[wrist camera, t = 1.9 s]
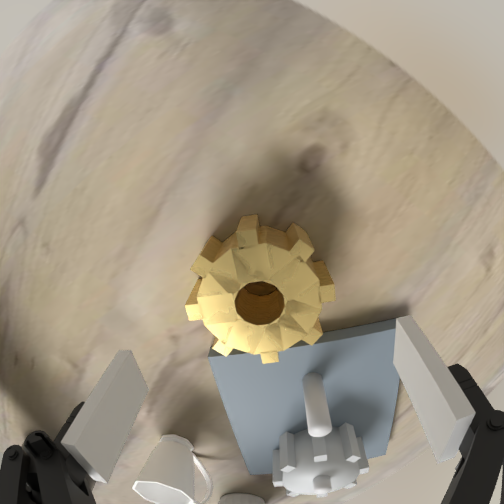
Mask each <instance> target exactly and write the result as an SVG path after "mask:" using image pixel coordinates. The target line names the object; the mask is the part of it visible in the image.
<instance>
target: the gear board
mask: <svg viewBox="0 0 504 504" xmlns="http://www.w3.org/2000/svg"><path fill="white" fill-rule="evenodd" d="M395 333H396V318H395V319H391V320H386V321H381V322H377V323H372V324H367V325H362V326H357V327H351V328H346V329H341V330H335V331H329V332H323V335H322V336H321V337H320V338H319V339H318V340H317V341H316V342H315V343H314V344H313V345H312V346H311V345H310V344H308V343H306V342H305V341H303V340H300V341H298V342H297V343H295V344H294V345H292V346H291V347H289V348H288V349H286V350H284V351H279V362H274V363H266V364H263V363H262V359H261V354H255V355H254V354H250V353H247V352H244V351H241V350H238V349H235V348H233V350H232V351H231V352H230V353H229V354H228V355H227V356H224V355H223V354H221V353H219V352H217V351H216V350H214V349H212V347H210V351H209V355H208V359H209V362H210V365H211V368H212V372H213V375H214V378H215V381H216V384H217V387H218V390H219V392H220V395H221V398H222V401H223V404H224V407H225V410H226V413H227V415H228V418H229V421H230V424H231V426H232V429H233V432H234V435H235V437H236V440H237V443H238V445H239V448H240V450H241V453H242V456H243V458H244V461H245V463H246V466H247V468H248V471H249V473H250V475H257V474H273V485H274V487H278V486H284V487H285V488H286V495H288V496H292V497H296V496H298V495H300V494H305V495H316V494H317V498H318V497H325V496H327V493H329V492H333V491H336V490H339V489H341V488H348V489H350V488H352V487H353V486H355V485H357V482H356V478H357V477H358V475H359V474H364V473H368V470H369V465H368V461H367V459H370V458H374V457H378V456H382V455H386V450H387V446H388V442H389V437H390V432H391V427H392V422H393V417H394V411H395V406H396V400H397V394H398V387H399V380H400V376H399V374H398V372H397V370H396V368H395V366H394V364H393V358H394V346H395Z"/></svg>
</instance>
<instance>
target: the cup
mask: <svg viewBox="0 0 504 504" xmlns="http://www.w3.org/2000/svg"><path fill="white" fill-rule="evenodd" d="M193 449H194V447H193V445H192V444H191V443H190V442H189V440H188V439H186V438H183V437H180V436H178V435H175V434H171V435H162V437H161V439H160V441H159V443H158V445H157V446H156V447H155V449H154V450H153V451H152V453H151V455H150V456H149V458H148V460H147V462H146V464H145V466H144V467H143V469H142V471H141V472H140V474H139V476H138V478H137V480H136V482H135V483H134V485H133V487H132V489H133V490H135V491H136V492H137V493H138V494H139V495H141V496H142V497H143V498H144V499H146V500H148V501H151V502H154V503H156V504H205V503H206V502H208V501H209V499H210V497H211V495H212V491H213V483H212V479H211V477H210V475H209V473H208V472H207V470H206V468H205V467H204V465H203V464H202V462H201V461H200V460H199V459H198V457H197V456H196V455H195V454H194V453H192V450H193ZM194 462H195V463H196V465H197V466H198V468H199V470H200V471H201V473H202V474H203V476H204V478H205V480H206V482H207V492H206V495H205V497H204V499H203V500H202V501H201V502H197V501H196V500H194V473H195V467H194Z"/></svg>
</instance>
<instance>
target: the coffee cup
mask: <svg viewBox="0 0 504 504" xmlns="http://www.w3.org/2000/svg"><path fill="white" fill-rule="evenodd" d="M218 504H265V501H264V500H263V499H262V498H261V497H258V496H256V495H252V494H245V493H232V494H227V495H224V496H222V497H221V498H220V501H219V502H218Z"/></svg>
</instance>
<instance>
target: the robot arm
mask: <svg viewBox="0 0 504 504" xmlns="http://www.w3.org/2000/svg"><path fill="white" fill-rule="evenodd" d="M393 364H394V366H395V368H396V370H397V372H398V374H399V376H400V378H401V381H402V383H403V385H404V387H405V389H406V391H407V393H408V396H409V398H410V400H411V402H412V404H413V407H414V409H415V411H416V413H417V416H418V418H419V420H420V423H421V425H422V427H423V429H424V432H425V434H426V437H427V439H428V441H429V444H430V446H431V449H432V451H433V454H434V456H435V459H436V461H437V463H441V462H444V461H446V460H449V459H451V458H454V457H455V456H456V454H457V452H458V450H460V452H461V455H462V458H461V459H460V461H459V463H458V465H457V466H456V468H455V469H456V472H455V474H454V476H453V479H452V481H451V483H450V486H449V488H448V490H447V492H446V494H445V496H444V498H443V500H442V503H441V504H489V503H490V500H491V497H492V494H493V491H494V488H495V485H496V482H497V479H498V476H499V473H500V469H501V466H502V465H503V475H502V491H501V501H500V504H504V412H502V411H500V410H494V409H493V407H492V406H491V404H490V403H489V401H488V400H487V398H486V397H485V395H484V394H483V392H482V391H481V389H480V388H479V386H477V383H476V382H475V380H474V379H473V377H472V376H471V375H470V373H469V372H468V370H467V369H465V368H464V367H462V366H461V365H459V364H455V365H452V366H449V367H447V366H446V365H445V363H444V362H443V360H442V359H441V357H440V356H439V354H438V353H437V351H436V350H435V348H434V347H433V345H432V344H431V343H430V341H429V340H428V338H427V337H426V335H425V334H424V333H423V331H422V330H421V328H420V327H419V326H418V324H417V323H416V321H415V320H414V319H413V317H412V316H411V315H408V316H404V317H399V318H396V333H395V346H394V358H393ZM148 390H149V388H148V386H147V384H146V382H145V380H144V378H143V376H142V373H141V371H140V369H139V367H138V365H137V362H136V360H135V358H134V356H133V353H132V351H131V350H119V351H118V353H117V354H116V356H115V357H114V359H113V360H112V362H111V363H110V365H109V366H108V368H107V369H106V371H105V372H104V374H103V375H102V377H101V378H100V380H99V381H98V383H97V384H96V386H95V388H94V389H93V391H92V392H91V394H90V395H89V397H88V399H87V400H86V402H81V403H80V404H79V405H78V406H77V407H75V408H74V410H73V411H72V413H71V415H70V417H69V418H68V419H67V421H66V423H65V424H64V426H63V427H62V429H61V430H60V432H59V434H58V435H57V437H56V439H55V440H54V442H53V441H52V440H51V439H50V438H49V436H48V435H47V434H46V433H45V432H44V431H35V432H33V433H31V434H30V435H29V436H28V437H27V438H26V440H25V441H24V443H23V444H22V446H19V445H13V446H10V447H9V448H7V450H6V451H5V452H4V455H3V459H2V464H1V469H0V504H96V502H95V499H94V497H93V494H92V490H93V488H94V485H95V481H99V482H104V483H108V481H109V479H110V476H111V474H112V472H113V469H114V467H115V465H116V462H117V460H118V458H119V455H120V453H121V451H122V448H123V446H124V444H125V441H126V439H127V437H128V435H129V432H130V430H131V428H132V426H133V423H134V421H135V419H136V417H137V414H138V412H139V410H140V408H141V406H142V403H143V401H144V399H145V397H146V395H147V392H148Z"/></svg>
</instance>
